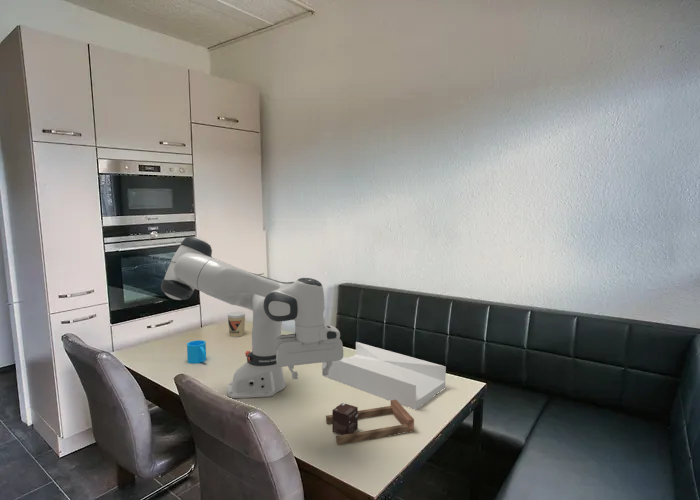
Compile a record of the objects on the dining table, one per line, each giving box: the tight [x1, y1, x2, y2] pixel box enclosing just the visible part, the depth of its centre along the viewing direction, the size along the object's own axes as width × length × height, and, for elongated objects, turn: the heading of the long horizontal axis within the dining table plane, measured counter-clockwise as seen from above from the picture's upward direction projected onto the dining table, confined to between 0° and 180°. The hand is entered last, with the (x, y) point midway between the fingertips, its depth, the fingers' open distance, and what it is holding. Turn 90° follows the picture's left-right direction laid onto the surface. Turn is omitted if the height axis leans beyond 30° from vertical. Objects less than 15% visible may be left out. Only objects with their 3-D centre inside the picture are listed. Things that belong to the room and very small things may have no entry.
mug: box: [186, 339, 207, 365], centre depth 187 cm, size 12×8×8 cm
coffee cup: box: [227, 311, 246, 338], centre depth 225 cm, size 9×9×12 cm
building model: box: [321, 341, 447, 411], centre depth 165 cm, size 45×22×10 cm, turn 50°
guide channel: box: [325, 400, 415, 446], centre depth 132 cm, size 25×14×4 cm, turn 107°
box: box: [331, 402, 359, 435], centre depth 129 cm, size 6×6×7 cm
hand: (310, 376), depth 124 cm, fingers open, 8 cm apart
